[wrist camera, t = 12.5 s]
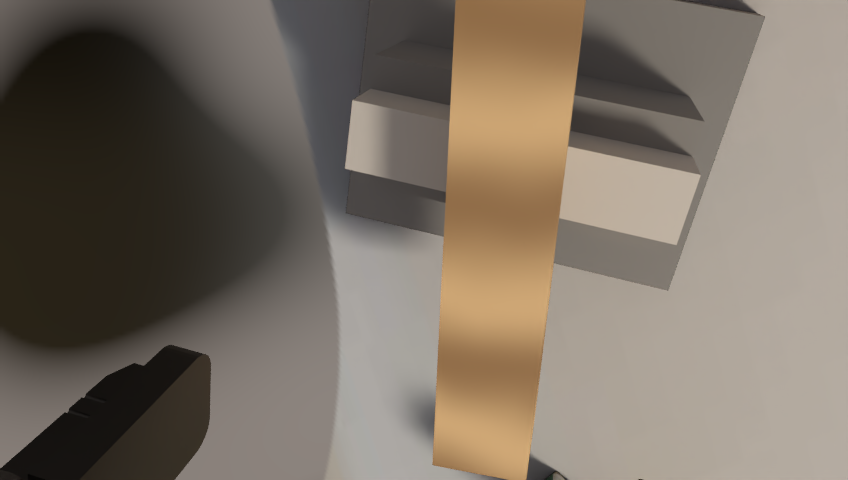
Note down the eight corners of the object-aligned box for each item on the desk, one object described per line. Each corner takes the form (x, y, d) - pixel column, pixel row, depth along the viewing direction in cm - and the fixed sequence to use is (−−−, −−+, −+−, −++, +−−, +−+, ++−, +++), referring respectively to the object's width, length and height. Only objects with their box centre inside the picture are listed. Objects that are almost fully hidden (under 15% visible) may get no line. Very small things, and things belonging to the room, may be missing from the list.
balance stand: (384, -54, 34) (317, -53, 26) (758, 13, 31) (813, 37, 23) (354, 203, 40) (292, 269, 32) (665, 278, 37) (684, 370, 29)
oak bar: (533, 423, 32) (525, 483, 28) (450, 408, 33) (432, 465, 29) (606, -166, 22) (608, -187, 19) (485, -167, 23) (464, -187, 19)
